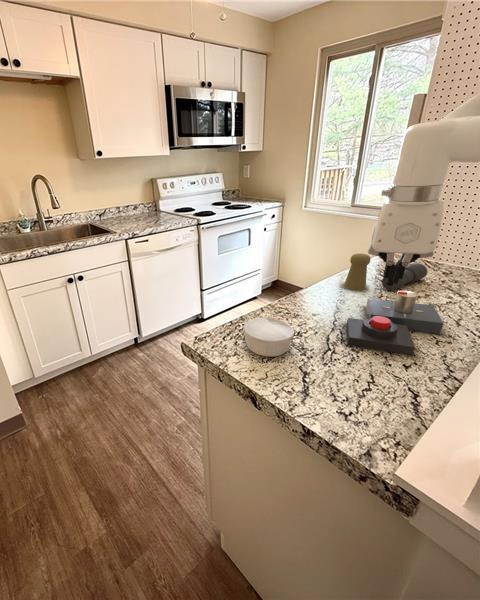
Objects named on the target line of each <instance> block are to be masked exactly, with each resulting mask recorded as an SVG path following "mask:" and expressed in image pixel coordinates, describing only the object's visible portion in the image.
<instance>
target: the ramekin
mask: <svg viewBox="0 0 480 600" xmlns="http://www.w3.org/2000/svg"><path fill="white" fill-rule="evenodd" d="M242 328H243V329H242V331H243V334H244V341H245V345H246V346H247V347H248V349H249V350H250V351H251V352H253V353H254V354H256V355H258V356H262V357H268V358H274V357H279V356H281V355H284V354H285V353H286V352H287V351H288V350H289V348H290V345H291V342H292V340H293V339H294V336H295V329H294V328H293V327H292V326H291V324H289V323H288V322H286V321H284V320H282V319H279V318H274V317H263V316H262V317H255V318H251V319H249V320H247V321H246V322H245V323H244V324H243V327H242Z"/></svg>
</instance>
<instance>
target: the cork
mask: <svg viewBox="0 0 480 600" xmlns="http://www.w3.org/2000/svg"><path fill="white" fill-rule="evenodd" d="M349 261H350V267H349V269H348V272H347V276H346V278H345V281H344V283H343V287H344V289H346V290H349V291H356V292H357V291H358V292H360V291H364V290H366V289H367V273H368V271H367V270H368V266H369V264H370V263H371V256H370V254H368V253H367V254H366V253H353V254H352V255H351V256H350V259H349Z"/></svg>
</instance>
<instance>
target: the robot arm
mask: <svg viewBox="0 0 480 600" xmlns="http://www.w3.org/2000/svg"><path fill="white" fill-rule="evenodd" d="M453 162H456V163H480V93H478V94H476V95H474V96H473V97H471V98H470V99H468V100H465V102H463V103H462V104H460V105H459V106H458V107H456V108H455V109H453V110H452V111H451V112H450V113H447V114H446V115H445V116H444V117H442V118H441V119H440V120H435V121H428V122H421V123H415V124H413V125H410V126H409V127H408V128H407V129H406V130H405V131H404V134H403V137H402V142H401V146H400V150H399V155H398V159H397V162H396V168H395V172H394V175H393V181H392V184H391V186H389V187H387V188H382V190H381V194H380V195H381V197H387V198H388V200H385V201H384V202H383V205H382V206H381V208H380V210H379V214H378V217H377V219H376V222H375V226H374V229H373V233H372V237H371V243H370V245H369V246H368V249H367V255H371V256H375V257H379V258H380V259H381V260H382V261H383V262H384V263H385V266H384V269H383V274H382V279H383V278H386V281H387V283H392V281H393V283H394V284H398V281H399V279H402V278H403V275H404V271H405V268H406V266H409V265H411V263H414V262H415V261H417V260H419V259H427V258H432V257H433V256H434V251H435V249H436V248H437V244H438V241H439V237H440V233H441V228H442V222H443V217H444V208H445V207H444V206H445V205H444V204H445V202H444V201H443V200H440V196H441V193H442V190H443V186H444V183H445V180H446V176H447V172H448V169H449V167H450V164H451V163H453ZM395 254H401V255H400V258H399V259H398V260H397V261H395Z"/></svg>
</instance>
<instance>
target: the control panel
mask: <svg viewBox="0 0 480 600" xmlns="http://www.w3.org/2000/svg"><path fill="white" fill-rule="evenodd" d="M394 301H395V300H388V299H378V298H367V300H366V304H365V311H366V312H365V313H366V318H372V317H374V316H382V317H386V318H388V319H390V320H391V322H392V323H394V324H400V325H407V328H408V331H414V332H422V333H429V334H435V335H437V334H438V335H440V334H441V332H442V329H443V326H444V321H443V319H442V317H441V316H440V314H439V313H438V311H437V309H436V307H435V305H434V304H427V303H426V304H425V303H416V302H415V305H414V308H413V311H412V312H411V313H402V312H398V311H395V310H394V309H393V305H394Z"/></svg>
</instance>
